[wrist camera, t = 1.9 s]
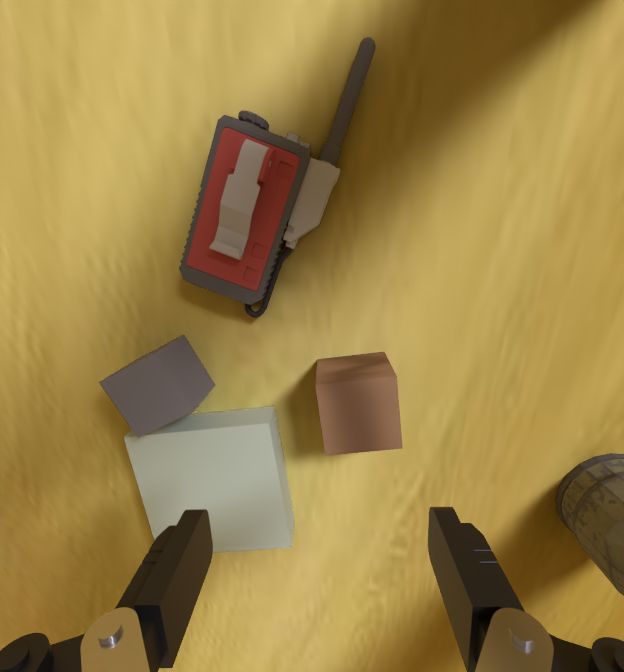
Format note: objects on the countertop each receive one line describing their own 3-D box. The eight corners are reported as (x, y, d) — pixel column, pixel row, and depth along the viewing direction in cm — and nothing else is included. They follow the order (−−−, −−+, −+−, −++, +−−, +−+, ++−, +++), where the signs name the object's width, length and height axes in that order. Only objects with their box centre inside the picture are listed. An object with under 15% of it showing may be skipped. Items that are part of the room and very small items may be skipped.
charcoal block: (184, 334, 29) (155, 352, 24) (215, 384, 30) (193, 411, 26) (135, 359, 30) (98, 382, 25) (167, 407, 31) (137, 438, 26)
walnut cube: (384, 351, 29) (396, 376, 24) (389, 412, 30) (402, 448, 25) (317, 359, 29) (315, 384, 24) (325, 418, 31) (325, 455, 25)
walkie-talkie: (285, 324, 29) (383, 56, 24) (278, 338, 25) (394, 15, 20) (184, 286, 29) (261, 5, 24) (159, 293, 24) (246, -48, 19)
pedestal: (274, 405, 30) (268, 423, 28) (294, 521, 33) (291, 547, 31) (142, 419, 31) (123, 437, 29) (173, 530, 34) (159, 556, 31)
